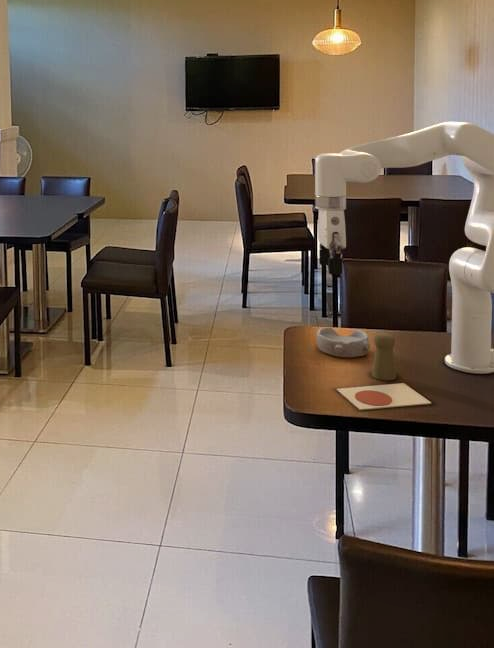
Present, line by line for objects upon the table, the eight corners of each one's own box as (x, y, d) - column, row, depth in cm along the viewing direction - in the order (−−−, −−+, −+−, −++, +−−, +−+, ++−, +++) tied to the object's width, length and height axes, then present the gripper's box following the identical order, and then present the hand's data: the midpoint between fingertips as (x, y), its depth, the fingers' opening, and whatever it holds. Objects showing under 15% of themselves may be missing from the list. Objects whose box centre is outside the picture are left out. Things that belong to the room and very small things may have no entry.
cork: (398, 381, 186) (398, 338, 185) (373, 379, 187) (373, 337, 186) (394, 372, 192) (394, 331, 191) (370, 370, 193) (370, 329, 192)
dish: (312, 342, 215) (312, 325, 215) (360, 342, 215) (360, 325, 215) (324, 360, 201) (324, 342, 201) (375, 360, 200) (375, 342, 200)
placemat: (403, 384, 184) (403, 382, 184) (431, 403, 172) (431, 401, 172) (336, 389, 181) (336, 387, 181) (360, 410, 169) (360, 408, 169)
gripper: (355, 207, 177) (355, 277, 178) (336, 197, 194) (336, 261, 195) (323, 208, 177) (323, 277, 178) (308, 197, 194) (308, 261, 195)
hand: (330, 269), depth 187 cm, fingers open, 9 cm apart
